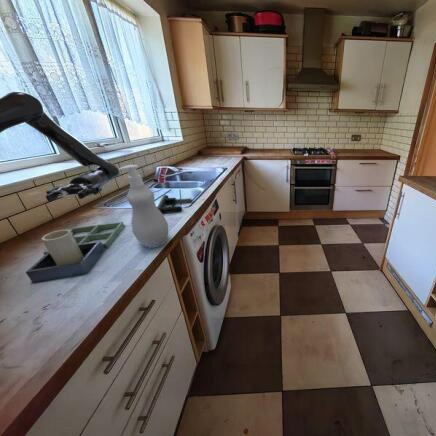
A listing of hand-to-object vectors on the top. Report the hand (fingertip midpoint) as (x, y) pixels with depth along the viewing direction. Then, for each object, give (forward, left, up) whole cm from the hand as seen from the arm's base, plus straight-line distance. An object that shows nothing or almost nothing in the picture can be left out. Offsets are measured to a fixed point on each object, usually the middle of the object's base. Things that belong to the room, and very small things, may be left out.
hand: (64, 197), depth 75 cm
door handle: (+25, +33, -20) cm, 46 cm away
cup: (0, -11, -19) cm, 22 cm away
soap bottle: (+23, -3, -20) cm, 31 cm away
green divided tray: (-2, +6, -20) cm, 21 cm away
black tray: (0, -11, -20) cm, 23 cm away
